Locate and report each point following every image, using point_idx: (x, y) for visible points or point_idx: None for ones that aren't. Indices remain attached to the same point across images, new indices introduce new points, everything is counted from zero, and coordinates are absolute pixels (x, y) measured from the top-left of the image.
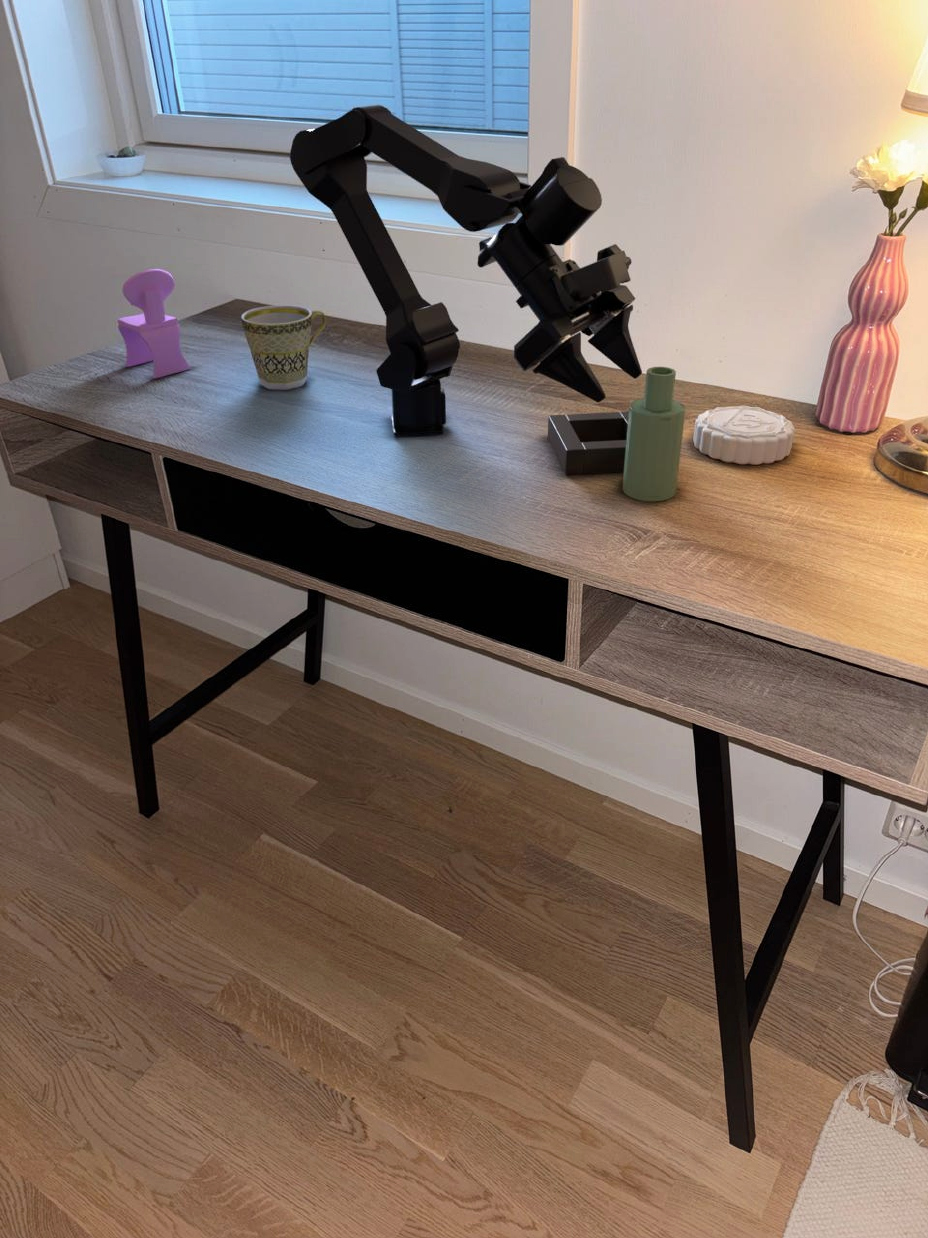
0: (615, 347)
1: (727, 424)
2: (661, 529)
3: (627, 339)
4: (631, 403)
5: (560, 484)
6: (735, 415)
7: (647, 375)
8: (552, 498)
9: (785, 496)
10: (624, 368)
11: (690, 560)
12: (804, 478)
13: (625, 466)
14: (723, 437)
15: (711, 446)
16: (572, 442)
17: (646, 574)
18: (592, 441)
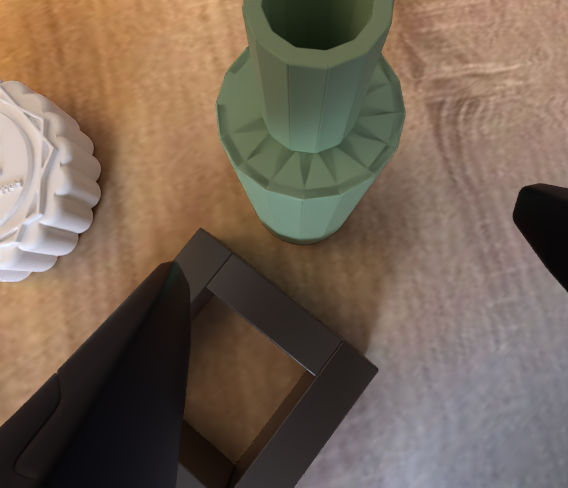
0: (140, 459)
1: (6, 184)
2: (409, 94)
3: (69, 406)
4: (347, 189)
5: (404, 335)
6: None
7: (377, 50)
8: (462, 303)
9: (161, 28)
10: (187, 344)
11: (458, 9)
12: (75, 42)
13: (349, 214)
14: (66, 163)
15: (87, 193)
16: (332, 391)
17: (543, 27)
18: (191, 428)
